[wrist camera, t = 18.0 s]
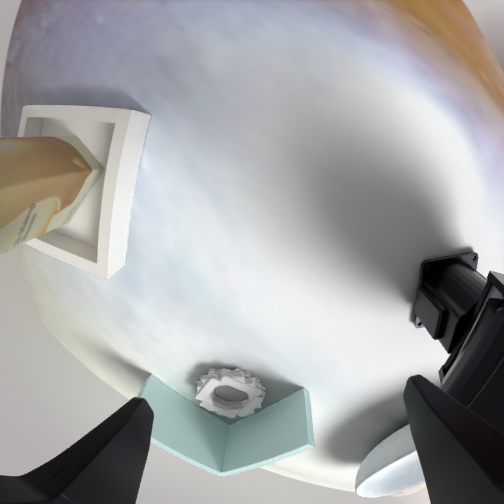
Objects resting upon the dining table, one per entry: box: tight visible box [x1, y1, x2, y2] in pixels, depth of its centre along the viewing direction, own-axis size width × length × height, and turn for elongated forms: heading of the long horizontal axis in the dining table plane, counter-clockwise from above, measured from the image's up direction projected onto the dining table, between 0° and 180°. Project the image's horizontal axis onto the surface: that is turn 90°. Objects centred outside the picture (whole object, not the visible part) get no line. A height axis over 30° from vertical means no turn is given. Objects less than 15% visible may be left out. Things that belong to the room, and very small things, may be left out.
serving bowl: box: [355, 424, 425, 497], centre depth 25 cm, size 21×21×7 cm
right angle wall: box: [138, 368, 315, 477], centre depth 22 cm, size 12×12×8 cm
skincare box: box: [0, 136, 103, 255], centre depth 12 cm, size 6×4×12 cm
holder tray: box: [18, 105, 151, 280], centre depth 17 cm, size 12×12×3 cm
